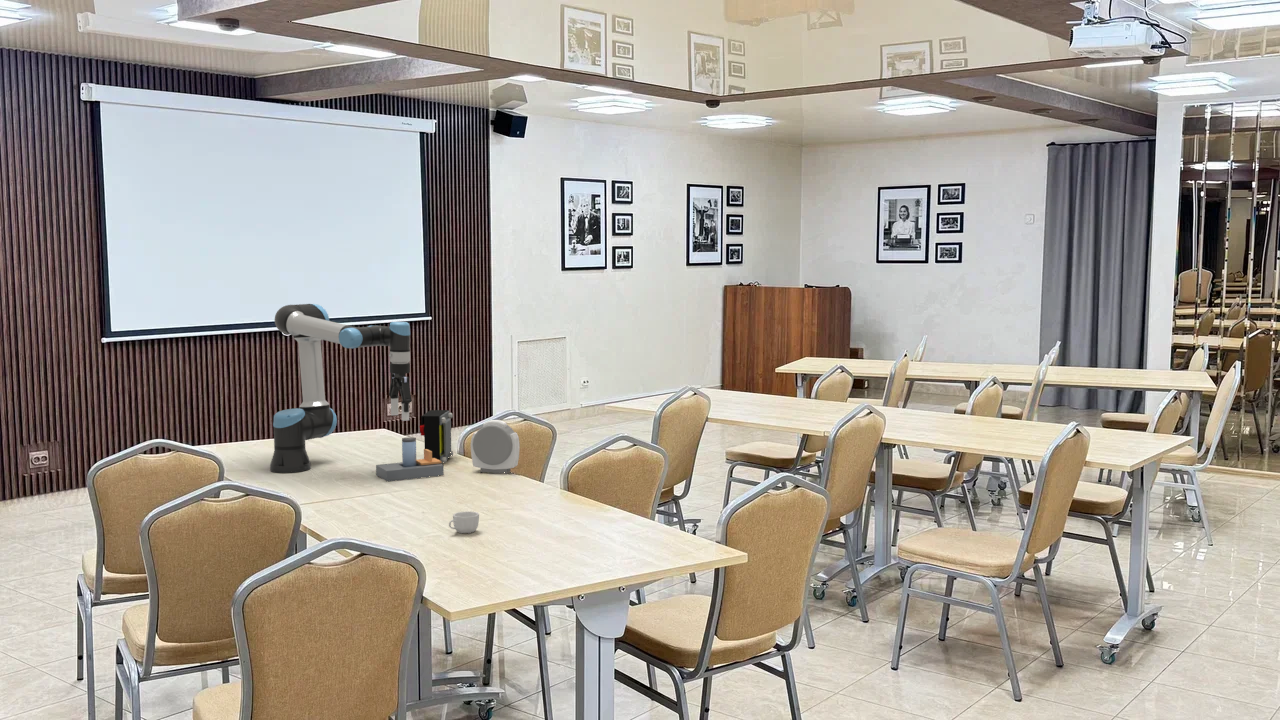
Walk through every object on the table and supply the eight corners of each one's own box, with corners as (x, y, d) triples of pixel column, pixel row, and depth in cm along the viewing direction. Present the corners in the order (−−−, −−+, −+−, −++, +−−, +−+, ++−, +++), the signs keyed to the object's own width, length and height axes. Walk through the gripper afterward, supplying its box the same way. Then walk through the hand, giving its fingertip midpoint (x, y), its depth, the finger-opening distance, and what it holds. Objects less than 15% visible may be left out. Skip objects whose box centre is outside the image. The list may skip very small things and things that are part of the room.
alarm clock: (520, 470, 410) (520, 419, 408) (514, 474, 402) (514, 422, 400) (477, 469, 413) (476, 418, 411) (469, 473, 405) (469, 421, 403)
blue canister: (401, 471, 401) (400, 438, 400) (414, 470, 404) (413, 436, 403) (404, 473, 397) (404, 439, 396) (418, 472, 399) (417, 438, 398)
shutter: (414, 461, 405) (414, 449, 405) (434, 459, 409) (434, 447, 409) (421, 465, 398) (421, 452, 398) (441, 463, 402) (441, 450, 402)
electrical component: (445, 465, 421) (444, 416, 419) (420, 465, 421) (419, 416, 419) (454, 457, 438) (453, 410, 437) (429, 457, 439) (429, 410, 437)
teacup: (469, 527, 321) (469, 510, 320) (484, 531, 315) (484, 514, 315) (441, 533, 314) (441, 515, 313) (456, 537, 308) (456, 519, 308)
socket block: (376, 475, 401) (375, 464, 401) (431, 469, 412) (431, 459, 412) (386, 481, 389) (386, 470, 389) (443, 475, 400) (443, 465, 400)
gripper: (380, 359, 407) (380, 413, 409) (400, 366, 385) (400, 423, 387) (399, 359, 410) (399, 412, 413) (420, 365, 389) (420, 422, 391)
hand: (399, 417), depth 400 cm, fingers open, 13 cm apart
